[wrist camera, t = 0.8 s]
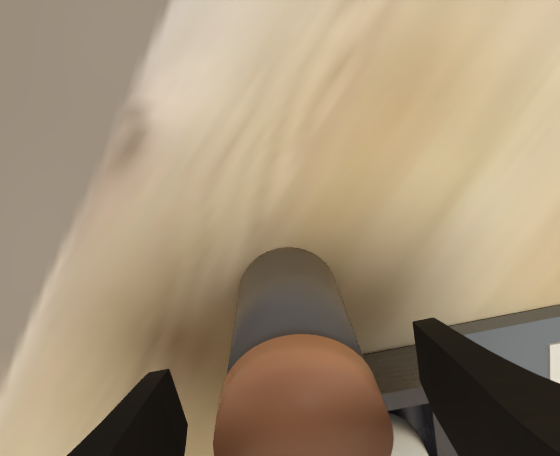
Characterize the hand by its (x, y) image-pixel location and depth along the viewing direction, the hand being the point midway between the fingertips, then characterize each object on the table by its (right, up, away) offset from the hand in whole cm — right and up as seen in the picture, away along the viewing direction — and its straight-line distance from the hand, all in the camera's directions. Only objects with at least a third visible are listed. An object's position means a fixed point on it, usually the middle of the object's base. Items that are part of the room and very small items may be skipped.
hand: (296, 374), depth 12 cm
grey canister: (0, +2, +5) cm, 6 cm away
